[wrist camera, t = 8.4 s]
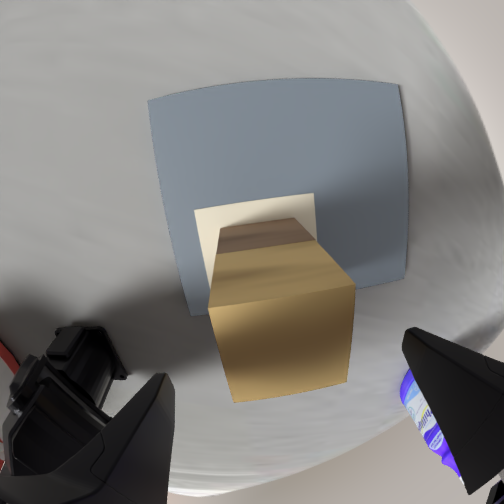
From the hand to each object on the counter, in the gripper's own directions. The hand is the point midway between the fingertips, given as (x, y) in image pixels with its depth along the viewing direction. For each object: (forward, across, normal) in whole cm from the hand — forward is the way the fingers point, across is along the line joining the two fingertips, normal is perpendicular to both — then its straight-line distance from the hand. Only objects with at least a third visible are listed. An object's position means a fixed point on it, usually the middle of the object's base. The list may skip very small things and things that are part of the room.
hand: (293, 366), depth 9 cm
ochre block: (+6, 0, 0) cm, 6 cm away
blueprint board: (+12, -3, -4) cm, 13 cm away
